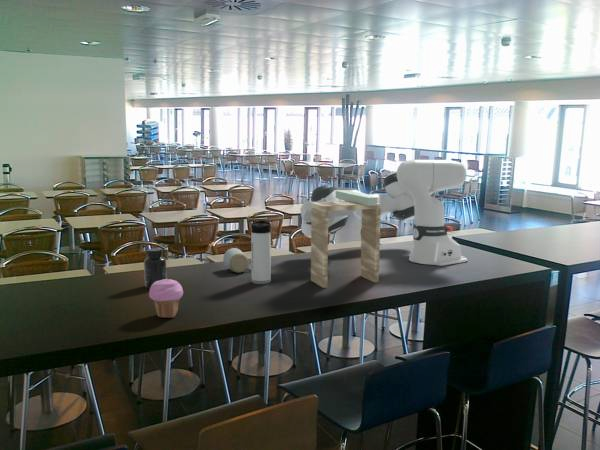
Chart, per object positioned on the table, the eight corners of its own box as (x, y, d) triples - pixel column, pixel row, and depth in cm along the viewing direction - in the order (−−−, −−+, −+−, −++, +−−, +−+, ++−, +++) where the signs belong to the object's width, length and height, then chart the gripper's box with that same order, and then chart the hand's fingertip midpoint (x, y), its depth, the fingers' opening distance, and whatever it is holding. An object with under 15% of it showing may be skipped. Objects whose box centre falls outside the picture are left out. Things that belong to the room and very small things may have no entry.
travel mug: (272, 279, 185) (272, 220, 182) (269, 284, 178) (268, 223, 175) (253, 279, 185) (253, 220, 182) (250, 284, 179) (249, 223, 176)
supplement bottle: (160, 282, 180) (158, 246, 178) (171, 286, 175) (170, 249, 173) (140, 286, 175) (139, 249, 173) (151, 290, 170) (150, 252, 169)
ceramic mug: (229, 274, 191) (229, 252, 190) (223, 269, 199) (223, 248, 198) (258, 272, 196) (258, 250, 194) (251, 267, 203) (251, 246, 202)
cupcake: (181, 321, 142) (180, 283, 141) (147, 321, 142) (145, 283, 140) (185, 310, 151) (184, 274, 150) (153, 311, 150) (152, 275, 149)
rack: (364, 275, 191) (366, 200, 187) (378, 282, 182) (380, 203, 178) (310, 280, 184) (311, 202, 180) (323, 287, 175) (324, 205, 171)
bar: (343, 197, 195) (343, 190, 195) (377, 205, 173) (377, 197, 173) (335, 197, 194) (335, 190, 194) (368, 205, 172) (368, 197, 172)
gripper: (349, 221, 210) (364, 206, 198) (299, 224, 203) (312, 209, 191) (346, 206, 212) (361, 191, 200) (296, 208, 205) (308, 192, 193)
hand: (336, 199), depth 195 cm, fingers open, 8 cm apart
